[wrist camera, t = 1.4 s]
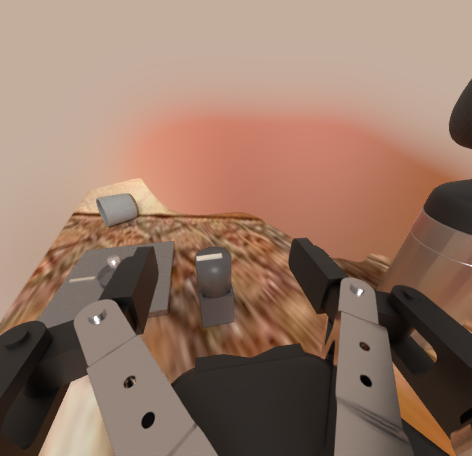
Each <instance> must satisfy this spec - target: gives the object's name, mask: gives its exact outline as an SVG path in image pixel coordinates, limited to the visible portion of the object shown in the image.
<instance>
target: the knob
mask: <svg viewBox="0 0 472 456" xmlns="http://www.w3.org/2000/svg"><path fill="white" fill-rule="evenodd" d="M195 263H196V271H197V278H198V286H199V301H200V308H201V316H202V323H203V328H205V327H210V326H215V325H221V324H226V323H231V322H234V292H233V288H232V284H231V254H230V252H229V251H228V250H226V249H224V248H221V247H208V248H205V249H203V250H201V251H200V252H198V254H197V255H196V257H195Z"/></svg>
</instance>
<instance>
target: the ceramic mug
mask: <svg viewBox="0 0 472 456" xmlns="http://www.w3.org/2000/svg"><path fill="white" fill-rule="evenodd" d="M96 202H97V207H98V210H99V212H100V214H101V217H102V219H103V221H104V223H105V224H106V225H107V226H108V227H110V226H113V225H116V224H119V223H122V222H125V221H128V220H131V219H134V218H136V217H137V216H138V213H139V211H138V206H137V203H136V201H135V199H134V198H133V196H132V195H130V194H119V195H113V196H107V197H101V198H97V199H96Z"/></svg>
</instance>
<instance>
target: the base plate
mask: <svg viewBox="0 0 472 456" xmlns="http://www.w3.org/2000/svg"><path fill="white" fill-rule="evenodd" d="M143 246H153V247H154V249H155V254H156V259H157V264H158V270H159V276H158V282H157V285H156V289H155V292H154V296H153V300H152V303H151V307H150V311H149V314H148V317H154V316H160V315H166V314H169V303H170V292H171V281H172V271H173V260H174V249H175V244H174V241H170V242H161V243H151V244H142V245H133V246H123V247H114V248H105V249H95V250H86V251H85V253H84V254H83V255H82V257H81V258H80V260H79V261H78V263H77V264H76V265H75V267H74V268H73V270H72V271H71V273H70V274H69V275H68V277H67V278H66V280H65V281H64V283H63V284H62V285H61V287H60V288H59V290H58V291H57V293H56V294H55V295H54V297H53V298H52V300H51V301H50V303H49V304H48V305H47V307H46V308H45V310H44V311H43V313H42V314H41V315H40V317H39V318H38V320H37V321H41V322H43V323H44V324H45V325H46V327H47V328H50V327H53V326H56V325H59V324H62V323H65V322H68V321H71V320H74V319H75V318H76V316H77V314H78V313H79V312H80V311H81V310H82V309H84V308H85V307H86V306H88V305H90V304H91V303H94V302H96V301H98V299H99V298H100V296H101V294H102V293H103V291H104V289H105V287H106V286H107V284H108V282H109V280H110V279H111V278H112V275H113V274H114V272H115V270H116V268H117V267H118V265H119V263H120V262H122V261H123V260H124V259H125V258H126V257H131V256H133V255H134V253H135V251H136V249H137V247H143Z"/></svg>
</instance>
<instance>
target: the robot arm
mask: <svg viewBox="0 0 472 456" xmlns="http://www.w3.org/2000/svg"><path fill="white" fill-rule="evenodd" d="M449 131H450V135H451V137H452V139H453V140H454V141H455V142H456V143H457V144H459V145H461V146H463V147H466V148H470V149H472V79H471V81H470V82H469V83H468V85H467V86H466V88H465V89H464V91H463V92H462V94H461V96H460V97H459V99H458V101H457V103H456V104H455V106H454V109H453V111H452V114H451V117H450V122H449ZM289 267H290V270H291V272H292V273H293V275H294V277H295V278H296V280H297V282H298V283H299V285H300V286H301V288H302V290H303V291H304V293H305V295H306V296H307V298H308V300H309V301H310V303H311V305H312V306H313V308H314V310H315V311H316V313H317V314H323V313H326V314H327V316H328V318H327V320H326V327H325V333H324V340H323V346H322V352H321V357H318V356H316V355H313V354H310V353H306V352H304V351H303V349H302V347H301V345H300V343H299V344H292V345H285V346H278V347H274V348H272V349H270V350H268V351H266V352H263V353H261V354H259V355H257V356H255V357H252V358H247V357H240V356H232V355H225V354H221V355H214V356H207V357H200V358H196V361H195V368H193V369H191V370H189V371H187V372H185V373H184V374H182V375H181V376H180V377H178V378H177V379H176V380H175V381H174V382H173V383H172V384H171V385H170V383H169V381H168V380H167V378H166V377H165V375H164V373H163V372H162V370H161V369H160V367H159V366H158V364H157V362H156V361H155V359H154V358H153V356H152V354H151V353H150V351H149V350H148V348H147V346H146V345H145V343H144V342H143V340H142V338H141V337H140V336H139V334H143V333H144V329H145V325H146V322H147V318H148V314H149V311H150V307H151V303H152V300H153V296H154V292H155V289H156V285H157V282H158V276H159V270H158V264H157V259H156V254H155V249H154V247H153V246H143V247H137V249H136V251H135V253H134V255H133V256H131V257H126V258H125V259H124V260H123V261H122V262H120V263H119V265H118V267H117V268H116V270H115V272H114V274H113V275H112V278H111V279H110V280H109V282H108V284H107V286H106V287H105V289H104V291H103V293H102V294H101V296H100V298H99V299H98V301H96V302H94V303H91V304H90V305H88V306H86V307H85V308H84V309H82V310H81V311H80V312H79V313H78V314H77V316H76V318H75V319H74V320H71V321H68V322H65V323H62V324H59V325H56V326H53V327H50V328H47V327H46V325H45V324H44V323H43V322H41V321H30V322H26V323H23V324H20V325H17V326H15V327H13V328H11V329H10V330H8V331H6V332H5V333H3V334H2V335H1V336H0V456H38V455H39V452H40V450H41V448H42V446H43V443H44V441H45V439H46V437H47V434H48V432H49V430H50V428H51V425H52V423H53V421H54V419H55V416H56V414H57V412H58V410H59V407H60V405H61V403H62V401H63V398H64V396H65V394H66V392H67V389H68V387H69V385H70V383H71V382H72V381H74V380H76V379H79V378H81V377H83V376H85V375H88V376H89V379H90V382H91V385H92V388H93V391H94V394H95V397H96V400H97V403H98V406H99V409H100V412H101V415H102V417H103V420H104V423H105V426H106V429H107V432H108V435H109V438H110V441H111V444H112V447H113V450H114V453H115V456H450V455H448V454H447V453H446V452H444V451H443V450H442V449H441V448H439V447H438V446H437V445H436V444H434V443H433V442H432V441H430V440H429V439H428V438H427V437H425V436H424V435H423V434H421V433H420V432H419V431H418V430H416V429H415V428H414V427H412V426H411V425H410V424H409V423H407V422H406V421H405V420H403V419H402V418H401V415H400V409H399V402H398V396H397V389H396V383H395V376H394V370H393V364H392V362H393V363H394V364H395V366H396V367H397V368H398V370H399V371H400V372H401V374H402V375H403V377H404V378H405V379H406V381H407V382H408V383H409V385H410V386H411V387H412V389H413V390H414V391H415V393H416V394H417V395H418V397H419V398H420V400H421V401H422V402H423V404H424V405H425V406H426V408H427V409H428V410H429V412H430V413H431V414H432V416H433V417H434V418H435V420H436V421H437V422H438V424H439V425H440V427H441V428H442V429H443V431H444V432H445V433H446V435H447V436H448V437H449V439H450V440H451V444H452V447H453V450H454V452H455V454H456V456H472V334H471V333H470V332H469V331H468V330H467V329H465V328H464V327H463V326H462V325H463V324H464V323H465V322H466V321H467V320H468V319H469V318H470V317H471V316H472V179H470V180H462V181H455V182H449V183H445V184H442V185H440V186H438V187H436V188H435V189H434V190H433V191H432V193H431V194H430V195H429V197H428V199H427V201H426V203H425V204H424V207H423V208H422V210H421V211H420V213H419V215H418V217H417V218H416V220H415V222H414V224H413V225H412V227H411V229H410V231H409V233H408V235H407V236H406V238H405V240H404V242H403V244H402V245H401V247H400V249H399V250H398V252H397V254H396V256H395V258H394V259H393V261H392V263H391V265H390V266H389V268H388V270H387V272H386V273H385V275H384V277H383V279H382V280H381V282H380V284H379V286H378V287H377V289H376V291H375V290H373V288H372V287H371V286H370V285H368V284H367V283H365V282H364V281H362V280H359V279H356V278H350V277H348V275H347V274H346V273H345V272H344V271H343V270H342V269H341V268H340V267H339V266H338V265H337V264H336V263H335V262H333V260H332V259H331V258H330V257H329V255H328V254H327V253H326V252H325V251H324V250H322V249H321V248H319V247H317V246H314V245H313V244H312V243H311V242H310V241H309V240H308V239H307V238H295V239H293V241H292V245H291V250H290V255H289ZM422 348H428V349H431V348H433V349H434V350H435V352H436V355H437V361H436V362H434V361H433V360H432V359H431V358H430V357H429V355H428V354H427V353H426V352H425V351H424V350H423V349H422Z"/></svg>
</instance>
